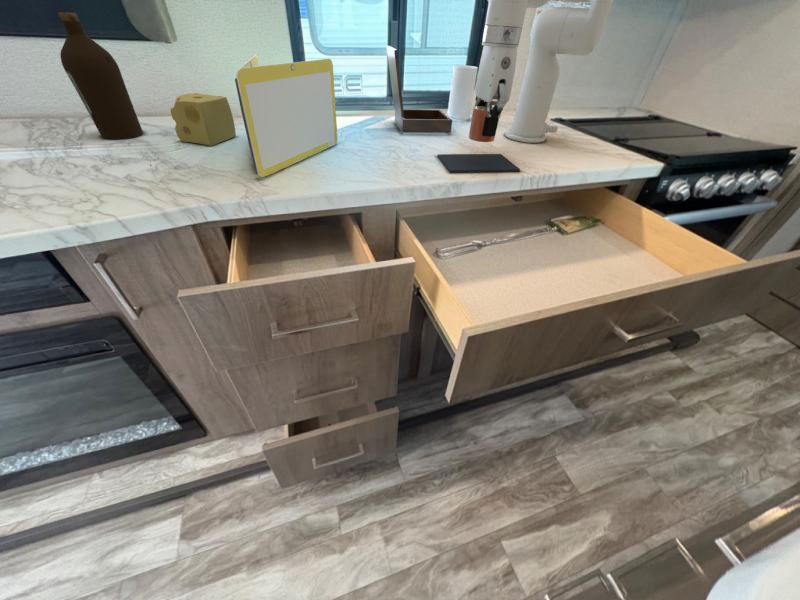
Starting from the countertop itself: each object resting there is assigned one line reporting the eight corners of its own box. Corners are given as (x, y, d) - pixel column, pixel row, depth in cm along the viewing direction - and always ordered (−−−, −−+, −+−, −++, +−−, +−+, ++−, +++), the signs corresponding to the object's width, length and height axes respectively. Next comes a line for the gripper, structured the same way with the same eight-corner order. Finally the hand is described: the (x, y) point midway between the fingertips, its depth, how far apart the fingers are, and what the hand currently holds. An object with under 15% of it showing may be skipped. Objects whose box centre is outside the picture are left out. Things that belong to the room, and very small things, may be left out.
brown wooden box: (438, 123, 116) (440, 109, 113) (450, 135, 105) (452, 120, 103) (394, 123, 114) (395, 109, 111) (402, 135, 103) (402, 119, 100)
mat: (500, 156, 91) (501, 153, 91) (519, 171, 82) (520, 169, 82) (437, 156, 88) (437, 154, 88) (450, 172, 79) (450, 170, 79)
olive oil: (147, 128, 95) (99, 13, 79) (144, 138, 88) (92, 14, 72) (101, 131, 91) (42, 11, 75) (95, 141, 84) (28, 12, 68)
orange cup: (488, 135, 84) (494, 105, 80) (498, 142, 79) (505, 111, 75) (465, 135, 83) (470, 105, 79) (473, 142, 78) (479, 110, 74)
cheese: (179, 141, 88) (163, 97, 81) (208, 131, 96) (196, 91, 89) (212, 147, 86) (198, 102, 79) (239, 136, 94) (229, 95, 87)
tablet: (258, 135, 95) (240, 50, 83) (334, 134, 100) (328, 53, 87) (245, 181, 70) (216, 68, 57) (349, 177, 74) (343, 71, 62)
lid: (389, 45, 100) (386, 46, 100) (397, 49, 89) (394, 50, 89) (396, 107, 111) (394, 107, 111) (404, 117, 100) (401, 118, 100)
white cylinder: (468, 117, 126) (476, 66, 115) (469, 122, 119) (478, 68, 109) (446, 115, 126) (453, 64, 116) (446, 120, 120) (453, 67, 109)
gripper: (537, 41, 63) (512, 142, 74) (501, 36, 76) (484, 123, 87) (501, 39, 62) (480, 142, 73) (470, 34, 75) (457, 123, 86)
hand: (483, 131), depth 80 cm, fingers closed on orange cup, 6 cm apart
